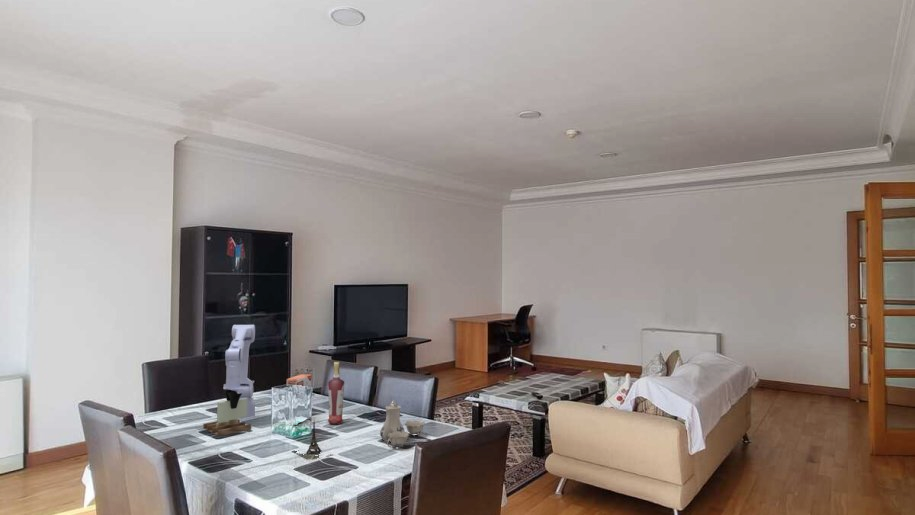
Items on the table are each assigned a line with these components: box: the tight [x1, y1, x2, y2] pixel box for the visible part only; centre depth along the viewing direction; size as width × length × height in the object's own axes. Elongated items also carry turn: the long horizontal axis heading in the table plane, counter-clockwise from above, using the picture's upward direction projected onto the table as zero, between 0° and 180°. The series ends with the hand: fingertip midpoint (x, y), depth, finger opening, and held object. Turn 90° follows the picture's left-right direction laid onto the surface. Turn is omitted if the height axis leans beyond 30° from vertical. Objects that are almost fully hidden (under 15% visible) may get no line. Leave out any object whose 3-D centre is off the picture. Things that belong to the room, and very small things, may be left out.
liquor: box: [327, 361, 345, 425], centre depth 246 cm, size 7×7×28 cm
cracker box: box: [285, 373, 313, 388], centre depth 247 cm, size 14×6×21 cm, turn 168°
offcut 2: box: [229, 419, 239, 425], centre depth 235 cm, size 5×2×3 cm, turn 137°
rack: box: [202, 420, 252, 437], centre depth 232 cm, size 14×16×3 cm
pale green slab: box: [216, 398, 247, 422], centre depth 229 cm, size 12×2×8 cm, turn 137°
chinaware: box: [379, 399, 426, 448], centre depth 221 cm, size 28×17×17 cm, turn 168°
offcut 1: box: [216, 421, 229, 427], centre depth 230 cm, size 5×2×3 cm, turn 137°
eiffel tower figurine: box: [291, 421, 332, 460], centre depth 203 cm, size 15×10×13 cm
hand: (232, 407), depth 229 cm, fingers closed on pale green slab, 2 cm apart
